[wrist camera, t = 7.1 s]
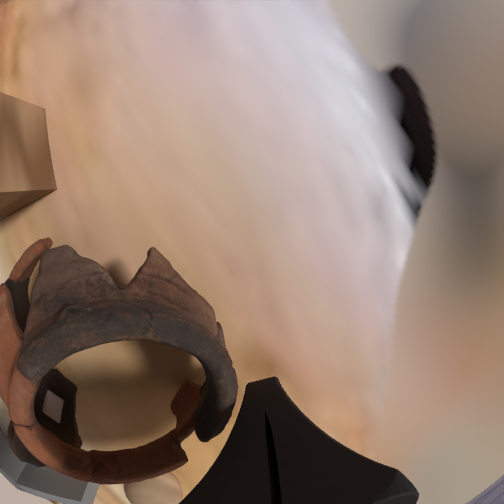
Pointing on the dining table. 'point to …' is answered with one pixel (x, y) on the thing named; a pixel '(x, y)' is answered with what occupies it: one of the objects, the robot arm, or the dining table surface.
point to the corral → (43, 479)
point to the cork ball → (155, 490)
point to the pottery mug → (95, 333)
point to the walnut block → (23, 154)
